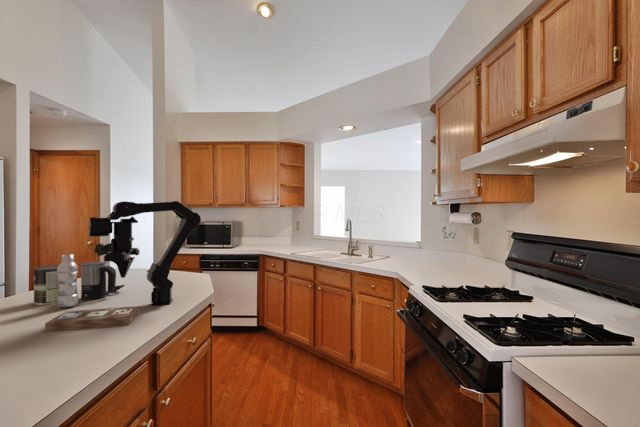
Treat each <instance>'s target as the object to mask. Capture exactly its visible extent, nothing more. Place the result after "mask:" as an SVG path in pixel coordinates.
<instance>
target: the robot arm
mask: <svg viewBox="0 0 640 427" xmlns="http://www.w3.org/2000/svg"><path fill="white" fill-rule="evenodd" d="M169 211H170V212H171V211H172V212H173V213H174V214H175V216H177V217H178V218H179V219H180V221H179V224H178V230H177V231H176V233H175V235H174V237H173V238H172V240H171V241H170V244H169V245H168V247H167V248H166V250H165V252H164V254H163V255H162V257H161V259H160V260H159V261H158V262H157V263H154V262H152V263H151V264H150V267H149V269H147V271H146V273H147V274H146V279H147V281H148V282H149V283H151V284H152V286H153V288H152V292H150V293H151V294H150V300H151V306H163V305H170V304H171V303H172V301H173V300H174V299H173V298H172V297H173V295H172V293H173V292H172V291H173V290H172V288H173V285H174V282H173V281H171V279H169V278H168V277H169V275H170V271H171V266H172V264H173V262H174V261H175V259H176V257H177V255H178V254H179V252H180V250H181V248H182V247H183V245H184V243H186V240H187V238H188V236H189V235H190V234H191V233H192V232H193V231H195V229H196V228H197V227H198V226H199V224H201V220H202V218H201V216H200V214H199V213H198V212H193V210H191V209H190V208H188V207H186V206H185V205H184V204H183V203H181V202H180V201H178V200H174V201H165V202H143V203H141V202H133V201H119V202H116V203H115V204H114V205H113V207H112V211H111V213H109V215H107V217H94V216H93V217H89V221H88V228H87V231H88V233H87V234H88V237H89V238H92V237H93V238H94V237H109V236H110V234H112V233H113V237H112V238H111V239H110V242H109V243H107V244H106V243H105V244H104V243H102V242H101V243H98V244H96V245H95V248H93V249H94V251H93V253H94V254H96V255H97V257H102V256H103V262H106V263H108V262H112V263H114V264H115V265H116V267H117V269H118V272H119V275H120V278H121V279H123V278H126V276H127V275H128V273H129V270H130V268H131V266H132V263H133V261H134V260H135V259H136V257H133V255H134V256H139V255H140V249H139V248H138V247H133V241H134V239H135V238H134V237H133V224H137V223H139V221H138V220H137V219H136V218H135V217H134V216H136V215H139V214H143V213H156V212H159V213H160V212H169ZM127 217H130V218H127ZM120 218H121V219H120ZM119 219H120V220H119ZM116 220H117V221H116ZM118 220H119V221H118Z"/></svg>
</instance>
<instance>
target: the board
mask: <svg viewBox="0 0 640 427" xmlns="http://www.w3.org/2000/svg"><path fill="white" fill-rule="evenodd" d="M125 309H133V311H132V312H130V313H129V314H119V315H111V314H113V313H114V312H115V311H116V310H125ZM98 311H109V312H108V313H106V314H105V315H104V316H93V317H85V316H86V315H88V314H89V313H91V312H98ZM81 312H83V314H82V315H80V316H78V317H77V318H67V319H57V318H59V317H61V316H62V315H64V314H67V313H81ZM141 314H142V305H138V306H123V307H110V308H93V309H82V310H81V309H80V310H79V309H78V310H69V311H68V310H67V311H64V312H62V313H60V314H59V315H57V316H55V317H53V318H52V319H49V320H48V321H46V322H45V323H44V328H45V329H44V332H53V331H65V330H76V329H88V328H89V329H90V328H100V327H101V328H102V327H110V326H111V327H112V326H123V325H131V324H132V323H133V322H134V321H135V319H137V318H138V317H139V316H140V315H141Z"/></svg>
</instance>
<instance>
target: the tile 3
mask: <svg viewBox="0 0 640 427" xmlns="http://www.w3.org/2000/svg"><path fill="white" fill-rule="evenodd" d="M132 311H133V309H125V310H116V311H115V312H114V313H113V314H111V315H119V314H129V313H130V312H132Z"/></svg>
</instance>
